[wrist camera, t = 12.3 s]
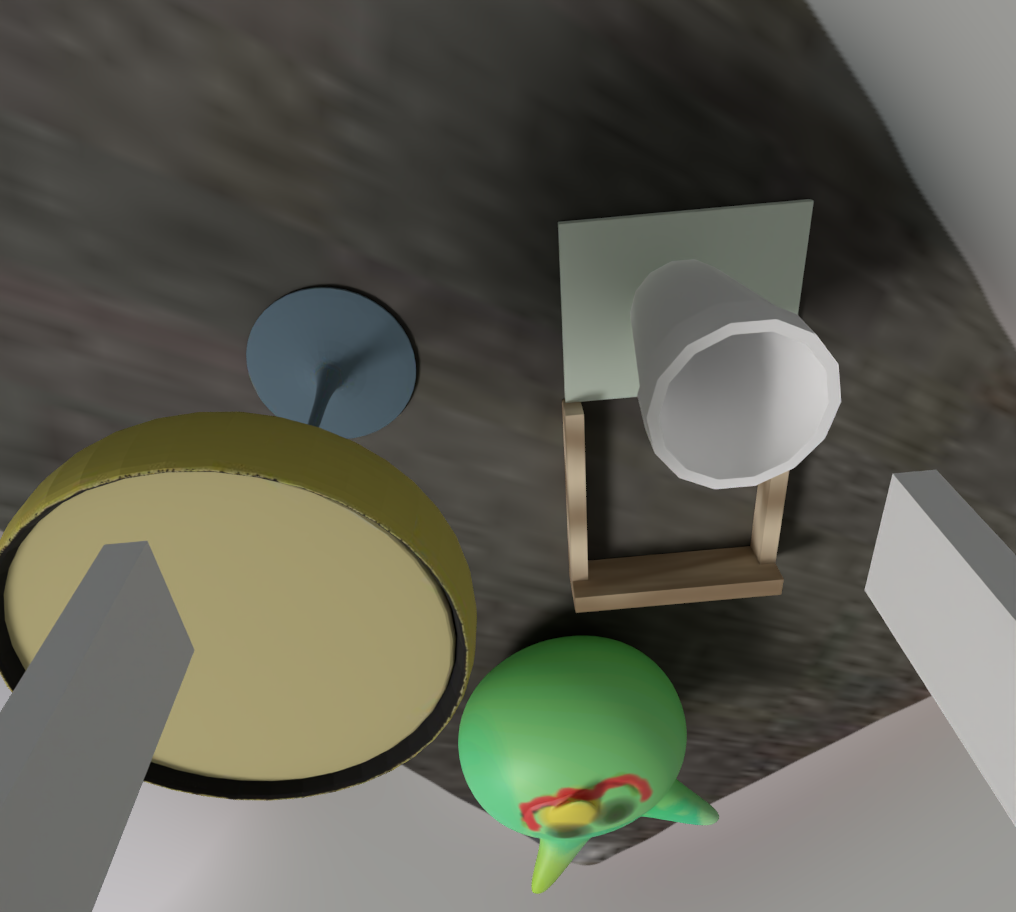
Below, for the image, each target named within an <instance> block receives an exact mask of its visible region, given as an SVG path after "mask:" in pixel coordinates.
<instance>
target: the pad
mask: <svg viewBox="0 0 1016 912" xmlns="http://www.w3.org/2000/svg"><path fill="white" fill-rule="evenodd" d="M813 203H814V201H813V200H811V199H805V200H794V201H783V202H772V203H761V204H750V205H739V206H728V207H716V208H705V209H694V210H683V211H672V212H661V213H650V214H639V215H628V216H617V217H606V218H595V219H584V220H573V221H562V222H558V239H559V263H560V288H561V313H562V337H563V362H564V387H565V402H566V403H572V402H583V401H594V400H605V399H616V398H627V397H637V394H638V391H639V387H640V384H639V376H638V369H637V362H636V354H635V347H634V340H633V332H632V325H631V318H630V316H631V314H630V311H631V307H632V303H633V299H634V295H635V291H636V290H637V289H638V287H639V286H640V285H641V284H642V282H643V281H644V280H645V279H646V277H647V276H648V275H649V274H650V273H651V272H652V271H654V270H656V269H658V268H660V267H662V266H663V265H665V264H667V263H669V262H671V261H679V260H690V259H696V260H698V261H701V262H703V263H706V264H708V265H711V266H713V267H715V268H716V269H719V270H720V271H722V272H724V273H725V274H727V275H728V276H730V277H731V278H733V279H735V280H736V281H738V282H739V283H741V284H742V285H744V286H746V287H747V288H749V289H750V290H752V291H753V292H755V293H756V294H758V295H760V296H761V297H763V298H764V299H766V300H767V301H769V302H771V303H772V304H774V305H775V306H777V307H780V308H782V309H785V310H787V311H790V312H792V313H795V314H797V315H798V310H799V303H800V296H801V289H802V282H803V274H804V267H805V260H806V253H807V246H808V239H809V231H810V224H811V217H812V210H813Z"/></svg>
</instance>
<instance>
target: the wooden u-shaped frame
mask: <svg viewBox="0 0 1016 912" xmlns="http://www.w3.org/2000/svg"><path fill="white" fill-rule="evenodd" d="M562 409H563V433H564V456H565V479H566V503H567V526H568V549H569V572H570V582H571V587H572V593H573V599H574V605H575V611H576V613H580V612H591V611H602V610H613V609H625V608H636V607H647V606H658V605H669V604H680V603H691V602H703V601H714V600H725V599H736V598H747V597H758V596H770V595H781V593H782V586H783V580H784V579H783V577H782V575H781V573H780V572H779V570H778V568H777V566H776V564H775V562H776V555H777V549H778V542H779V535H780V529H781V522H782V515H783V509H784V502H785V495H786V489H787V482H788V476H789V471H787V472H784V473H782V474H780V475H778V476H776V477H773V478H771V479H769V480H767V481H765V482H762V483H760V484H758V489H757V497H756V505H755V513H754V521H753V529H752V537H751V545H750V546H746V547H734V548H723V549H712V550H701V551H690V552H679V553H668V554H656V555H645V556H634V557H623V558H612V559H601V560H590V561H588V553H587V513H586V474H585V435H584V412H583V409H582V405H581V402H572V403H566V402H565V400H562Z"/></svg>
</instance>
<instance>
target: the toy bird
mask: <svg viewBox="0 0 1016 912" xmlns="http://www.w3.org/2000/svg"><path fill="white" fill-rule="evenodd" d="M686 738H687V732H686V721H685V716H684V711H683V708H682V705H681V702H680V699H679V697H678V694H677V692H676V690H675V688H674V686H673V685H672V683H671V681H670V680H669V678H668V677H667V676H666V674H665V673H664V672H663V671H662V669H661V668H660V667H659V666H658V665H657V664H656V663H655V662H654V661H653V660H651V659H650V658H649V657H648V656H646V655H645V654H644V653H642V652H641V651H639V650H637V649H636V648H634V647H632V646H630V645H627V644H625V643H623V642H620V641H617V640H613V639H609V638H604V637H598V636H567V637H560V638H555V639H550V640H546V641H543V642H539V643H536V644H534V645H531V646H529V647H527V648H524V649H522V650H520V651H518V652H517V653H515V654H513V655H511V656H510V657H508V658H507V659H505V660H504V661H502V662H501V663H500V664H498V665H497V666H496V667H495V668H494V669H492V670H491V671H490V672H489V673H488V674H487V675H486V676H485V677H484V678H483V679H482V681H481V682H480V683H479V684H478V686H477V687H476V688H475V690H474V692H473V693H472V695H471V697H470V698H469V700H468V702H467V705H466V707H465V710H464V712H463V715H462V719H461V723H460V729H459V738H458V747H459V757H460V762H461V767H462V770H463V773H464V776H465V779H466V781H467V783H468V786H469V788H470V790H471V791H472V793H473V795H474V796H475V798H476V799H477V801H478V802H479V803H480V805H481V806H482V807H483V808H484V809H485V810H486V811H487V812H488V813H489V814H490V815H491V816H492V817H493V818H494V819H496V820H497V821H499V822H500V823H501V824H503V825H504V826H506V827H508V828H510V829H512V830H514V831H516V832H519V833H522V834H525V835H528V836H532V837H536V838H540V845H539V850H538V855H537V859H536V863H535V868H534V873H533V878H532V891H533V893H536V894H538V893H542V892H544V891H546V890H547V889H548V888H549V887H550V886H551V885H552V884H553V883H554V882H555V881H556V880H557V878H558V877H559V876H560V875H561V874H562V873H563V871H564V870H565V869H566V868H567V866H568V865H569V864H570V862H571V861H572V860H573V859H574V857H575V856H576V855H577V853H578V852H579V851H580V850H581V848H582V847H583V846H584V845H585V843H586V842H587V841H588V840H589V839H590V838H591V837H594V836H599V835H602V834H605V833H609V832H611V831H614V830H616V829H619V828H621V827H623V826H625V825H627V824H629V823H631V822H633V821H634V820H636V819H638V818H639V817H641V816H644V817H652V818H658V819H663V820H669V821H674V822H680V823H687V824H695V825H711V824H714V823H715V822H717V821H718V819H719V815H718V813H717V811H716V810H715V809H714V808H713V807H712V806H711V805H710V804H709V803H707V802H706V801H705V800H703V799H702V798H701V797H699V796H698V795H697V794H695V793H694V792H693V791H691V790H690V789H689V788H687V787H686V786H684V785H683V784H682V783H681V782H679V781H678V780H677V779H676V778H677V776H678V773H679V771H680V769H681V766H682V763H683V759H684V755H685V749H686Z"/></svg>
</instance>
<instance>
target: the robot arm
mask: <svg viewBox="0 0 1016 912" xmlns="http://www.w3.org/2000/svg"><path fill="white" fill-rule="evenodd" d="M865 591H866V593H867V594H868V596H869V598H870V599H871V601H872V602H873V604H874V605H875V607H876V609H877V610H878V612H879V613H880V615H881V616H882V618H883V620H884V621H885V623H886V624H887V626H888V627H889V629H890V631H891V632H892V634H893V635H894V637H895V638H896V640H897V642H898V643H899V645H900V646H901V648H902V649H903V651H904V653H905V654H906V656H907V657H908V659H909V660H910V662H911V664H912V665H913V667H914V668H915V670H916V671H917V673H918V675H919V676H920V678H921V679H922V681H923V682H924V684H925V686H926V687H927V689H928V690H929V692H930V693H931V695H932V697H933V698H934V700H935V701H936V703H937V704H938V706H939V707H940V709H941V711H942V712H943V714H944V715H945V717H946V718H947V720H948V722H949V723H950V725H951V726H952V728H953V729H954V731H955V733H956V734H957V736H958V737H959V739H960V740H961V742H962V744H963V745H964V747H965V748H966V750H967V751H968V753H969V755H970V756H971V758H972V759H973V761H974V762H975V764H976V766H977V767H978V769H979V770H980V772H981V773H982V775H983V777H984V778H985V780H986V781H987V783H988V784H989V786H990V788H991V789H992V790H993V792H994V794H995V795H996V797H997V798H998V800H999V801H1000V803H1001V805H1002V806H1003V808H1004V809H1005V811H1006V813H1007V814H1008V816H1009V817H1010V819H1011V820H1012V822H1013V824H1014V825H1015V827H1016V555H1015V554H1014V553H1013V552H1012V551H1011V550H1010V549H1009V548H1008V546H1007V545H1006V544H1005V543H1004V542H1003V541H1002V540H1001V539H1000V538H999V537H998V536H997V535H996V534H995V532H994V531H993V530H992V529H991V528H990V527H989V526H988V525H987V524H986V523H985V522H984V521H983V520H982V518H981V517H980V516H979V515H978V514H977V513H976V512H975V511H974V510H973V509H972V508H971V507H970V506H969V504H968V503H967V502H966V501H965V500H964V499H963V498H962V497H961V496H960V495H959V494H958V493H957V492H956V490H955V489H954V488H953V487H952V486H951V485H950V484H949V483H948V482H947V481H946V480H945V479H944V478H943V476H942V475H941V474H940V473H939V472H938V471H937V470H928V471H917V472H906V473H895V474H893V475H892V479H891V483H890V487H889V491H888V495H887V499H886V504H885V508H884V512H883V516H882V520H881V524H880V529H879V533H878V537H877V541H876V545H875V549H874V553H873V558H872V562H871V566H870V570H869V574H868V578H867V583H866V587H865ZM193 653H194V648H193V645H192V643H191V641H190V638H189V636H188V634H187V631H186V629H185V627H184V624H183V622H182V620H181V617H180V615H179V613H178V610H177V608H176V606H175V603H174V601H173V599H172V596H171V594H170V592H169V589H168V587H167V585H166V582H165V580H164V578H163V575H162V573H161V571H160V568H159V566H158V564H157V561H156V559H155V557H154V554H153V552H152V550H151V548H150V545H149V543H148V541H138V542H127V543H116V544H105V545H104V546H103V547H102V549H101V550H100V552H99V554H98V555H97V557H96V559H95V560H94V562H93V563H92V565H91V567H90V568H89V570H88V571H87V573H86V575H85V576H84V578H83V580H82V581H81V583H80V584H79V586H78V588H77V589H76V591H75V592H74V594H73V596H72V597H71V599H70V600H69V602H68V604H67V605H66V607H65V609H64V610H63V612H62V613H61V615H60V617H59V618H58V620H57V621H56V623H55V625H54V626H53V628H52V630H51V631H50V633H49V634H48V636H47V638H46V639H45V641H44V642H43V644H42V646H41V647H40V649H39V651H38V652H37V654H36V655H35V657H34V659H33V660H32V662H31V663H30V665H29V667H28V668H27V670H26V671H25V673H24V675H23V676H22V678H21V680H20V681H19V683H18V684H17V686H16V688H15V689H14V691H13V692H12V694H11V696H10V697H9V699H8V701H7V702H6V704H5V706H4V707H3V709H2V710H1V712H0V912H92V910H93V907H94V904H95V902H96V900H97V897H98V895H99V892H100V889H101V887H102V884H103V882H104V879H105V877H106V874H107V872H108V869H109V867H110V864H111V861H112V859H113V856H114V854H115V851H116V849H117V846H118V844H119V841H120V839H121V836H122V833H123V831H124V828H125V826H126V823H127V820H128V818H129V816H130V813H131V811H132V808H133V806H134V803H135V800H136V798H137V795H138V793H139V790H140V788H141V785H142V783H143V780H144V778H145V775H146V772H147V770H148V767H149V765H150V762H151V760H152V757H153V755H154V752H155V750H156V747H157V744H158V742H159V739H160V737H161V734H162V732H163V729H164V727H165V724H166V722H167V719H168V717H169V714H170V711H171V709H172V706H173V704H174V701H175V699H176V696H177V694H178V691H179V689H180V686H181V683H182V681H183V678H184V676H185V673H186V671H187V668H188V666H189V663H190V661H191V658H192V655H193Z"/></svg>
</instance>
